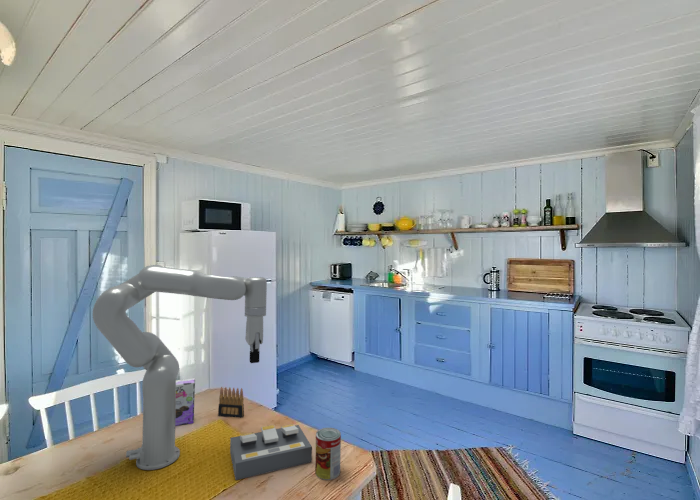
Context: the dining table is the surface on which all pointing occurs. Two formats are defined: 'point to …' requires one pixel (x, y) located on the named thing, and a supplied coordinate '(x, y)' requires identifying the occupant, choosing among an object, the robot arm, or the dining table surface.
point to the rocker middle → (269, 434)
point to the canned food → (328, 453)
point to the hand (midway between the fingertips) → (254, 362)
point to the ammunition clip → (231, 403)
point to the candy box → (185, 401)
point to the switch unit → (269, 453)
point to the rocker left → (248, 437)
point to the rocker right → (289, 429)
